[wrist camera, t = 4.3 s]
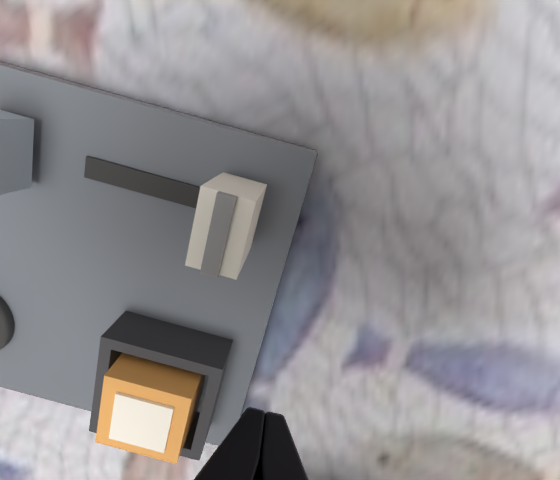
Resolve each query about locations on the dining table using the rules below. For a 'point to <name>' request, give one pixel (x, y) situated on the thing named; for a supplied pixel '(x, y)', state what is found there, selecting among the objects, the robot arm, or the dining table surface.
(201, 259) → the slider right
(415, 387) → the dining table surface
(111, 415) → the button amber
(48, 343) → the panel
